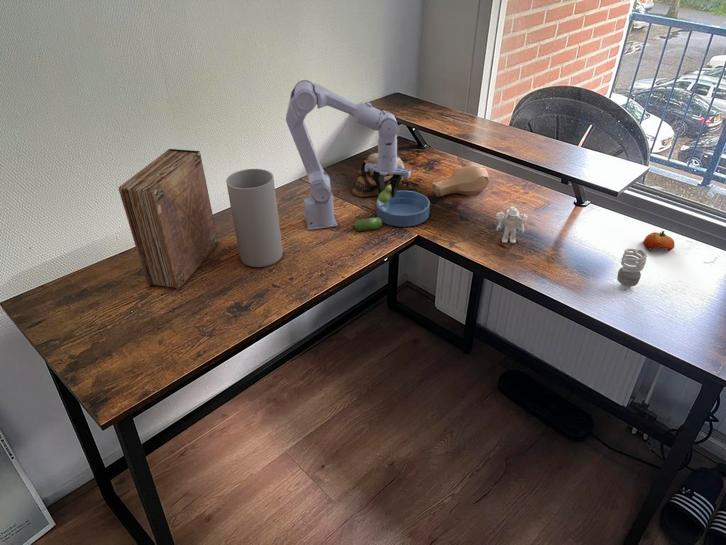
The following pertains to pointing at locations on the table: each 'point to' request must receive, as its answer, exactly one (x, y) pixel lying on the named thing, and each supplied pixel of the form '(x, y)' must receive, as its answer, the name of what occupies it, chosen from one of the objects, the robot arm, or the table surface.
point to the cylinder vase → (255, 216)
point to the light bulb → (631, 268)
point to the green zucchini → (367, 224)
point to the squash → (463, 181)
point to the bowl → (404, 209)
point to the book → (170, 217)
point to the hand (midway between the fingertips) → (387, 194)
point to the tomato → (658, 241)
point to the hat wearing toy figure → (511, 222)
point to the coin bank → (365, 180)
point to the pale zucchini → (385, 195)
